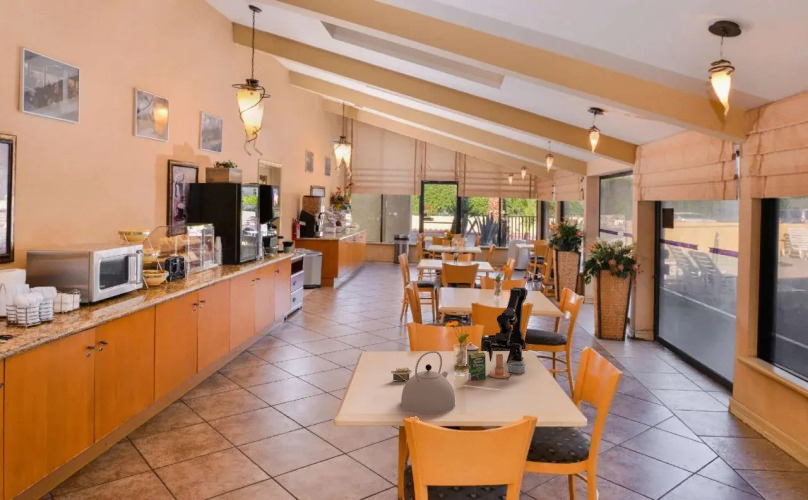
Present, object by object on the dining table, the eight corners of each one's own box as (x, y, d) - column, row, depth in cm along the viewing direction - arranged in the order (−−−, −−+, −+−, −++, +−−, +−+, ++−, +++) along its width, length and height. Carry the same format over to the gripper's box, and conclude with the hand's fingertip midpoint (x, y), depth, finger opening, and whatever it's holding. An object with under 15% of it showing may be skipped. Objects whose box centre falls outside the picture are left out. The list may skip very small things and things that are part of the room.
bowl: (510, 369, 293) (510, 362, 293) (525, 371, 290) (525, 363, 290) (507, 373, 286) (507, 365, 286) (522, 375, 283) (523, 367, 283)
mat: (490, 372, 288) (490, 371, 288) (512, 375, 284) (512, 373, 284) (485, 378, 278) (485, 377, 278) (507, 381, 273) (507, 380, 273)
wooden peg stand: (491, 371, 287) (491, 351, 286) (511, 374, 283) (511, 353, 283) (486, 377, 278) (486, 356, 277) (507, 379, 274) (507, 358, 273)
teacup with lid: (480, 363, 305) (481, 341, 304) (475, 367, 296) (476, 345, 296) (459, 360, 310) (459, 339, 309) (453, 364, 301) (454, 342, 301)
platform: (423, 384, 269) (423, 370, 268) (385, 387, 265) (385, 373, 264) (416, 377, 280) (417, 364, 280) (380, 379, 276) (380, 366, 276)
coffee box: (470, 382, 272) (470, 354, 271) (467, 380, 275) (468, 353, 274) (485, 380, 274) (486, 353, 273) (483, 378, 277) (483, 352, 276)
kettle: (426, 391, 259) (427, 341, 257) (468, 402, 244) (469, 350, 243) (389, 405, 240) (390, 352, 238) (433, 418, 225) (434, 362, 223)
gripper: (483, 324, 286) (476, 351, 277) (521, 327, 279) (515, 355, 269) (487, 336, 294) (481, 363, 285) (524, 340, 286) (518, 367, 277)
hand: (498, 362), depth 279 cm, fingers open, 8 cm apart
